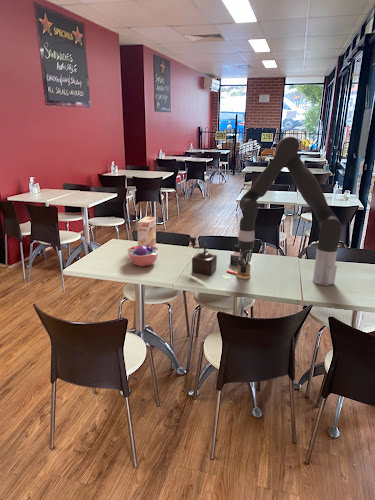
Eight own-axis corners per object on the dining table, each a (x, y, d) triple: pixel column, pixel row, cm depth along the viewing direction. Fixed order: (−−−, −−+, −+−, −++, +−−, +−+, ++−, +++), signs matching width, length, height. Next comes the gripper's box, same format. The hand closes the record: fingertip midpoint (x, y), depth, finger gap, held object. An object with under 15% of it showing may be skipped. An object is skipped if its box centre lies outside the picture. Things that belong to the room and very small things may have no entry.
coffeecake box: (148, 254, 223) (148, 222, 217) (137, 253, 225) (136, 221, 219) (156, 247, 237) (156, 216, 231) (145, 246, 238) (145, 216, 232)
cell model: (161, 259, 215) (161, 240, 212) (155, 271, 196) (154, 251, 193) (132, 257, 217) (131, 238, 213) (123, 269, 198) (122, 249, 194)
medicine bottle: (229, 266, 205) (230, 245, 201) (234, 262, 211) (235, 242, 207) (242, 269, 202) (243, 247, 198) (246, 265, 208) (248, 244, 204)
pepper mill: (217, 271, 198) (218, 238, 192) (210, 278, 188) (211, 244, 183) (190, 267, 204) (190, 235, 198) (182, 273, 194) (182, 240, 188)
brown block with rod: (253, 276, 188) (254, 263, 186) (245, 280, 183) (246, 267, 181) (231, 269, 196) (231, 257, 194) (223, 273, 191) (223, 260, 189)
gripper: (247, 243, 174) (244, 278, 179) (259, 236, 185) (256, 269, 190) (232, 240, 178) (230, 274, 183) (245, 234, 189) (243, 266, 194)
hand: (243, 271), depth 187 cm, fingers closed on brown block with rod, 2 cm apart
